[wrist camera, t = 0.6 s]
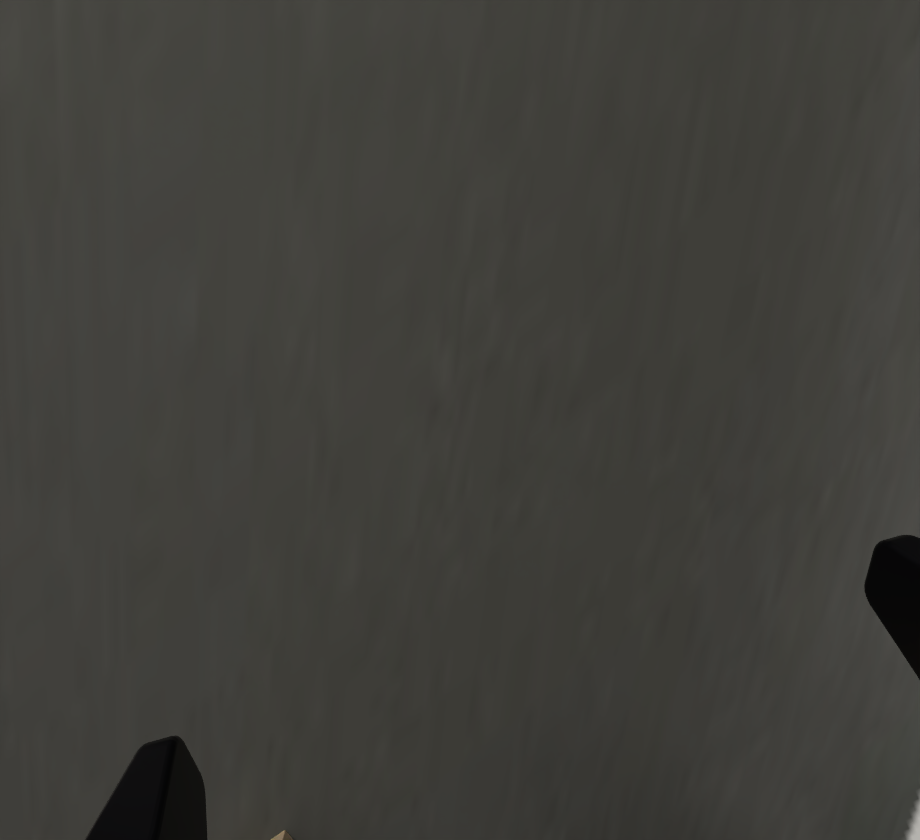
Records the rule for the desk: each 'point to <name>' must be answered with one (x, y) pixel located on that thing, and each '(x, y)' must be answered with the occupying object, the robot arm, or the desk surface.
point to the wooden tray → (282, 836)
